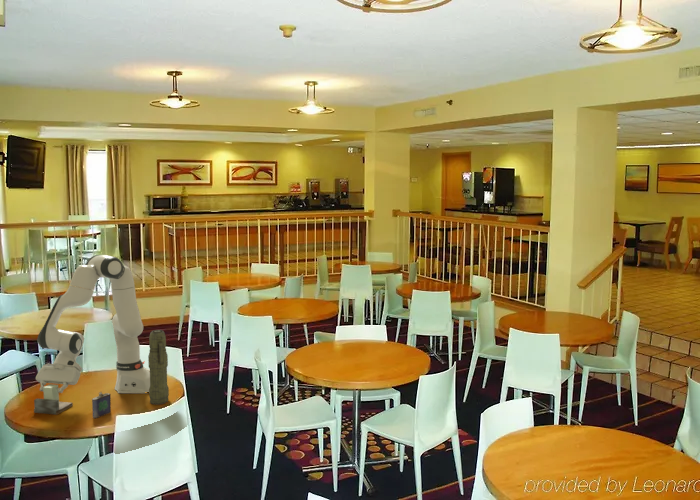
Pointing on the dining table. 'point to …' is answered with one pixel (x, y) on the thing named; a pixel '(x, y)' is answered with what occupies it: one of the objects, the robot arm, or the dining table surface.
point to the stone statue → (158, 368)
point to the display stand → (50, 406)
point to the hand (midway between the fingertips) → (50, 391)
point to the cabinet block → (51, 392)
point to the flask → (101, 405)
